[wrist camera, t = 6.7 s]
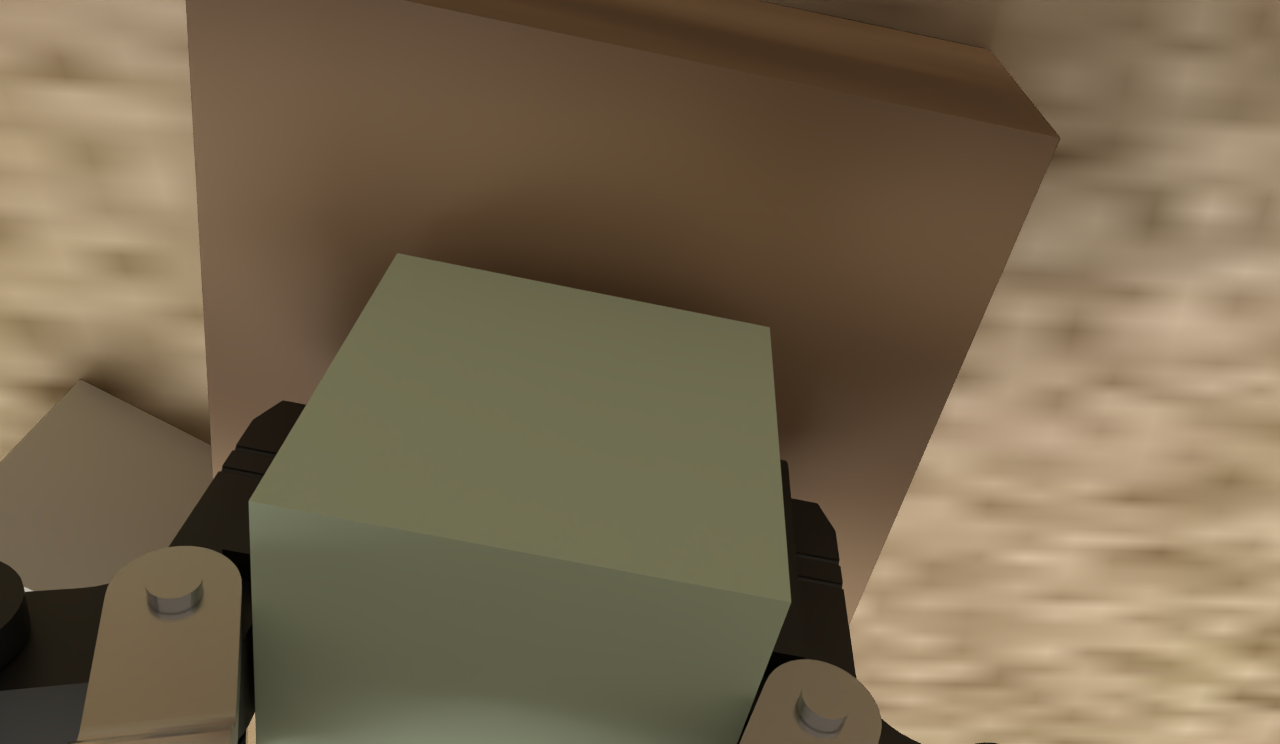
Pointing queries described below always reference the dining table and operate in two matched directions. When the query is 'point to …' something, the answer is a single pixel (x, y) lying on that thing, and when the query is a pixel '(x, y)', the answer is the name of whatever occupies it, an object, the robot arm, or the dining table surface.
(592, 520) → the sage cube
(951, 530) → the dining table surface
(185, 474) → the grey cube
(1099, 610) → the dining table surface
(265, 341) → the walnut block
